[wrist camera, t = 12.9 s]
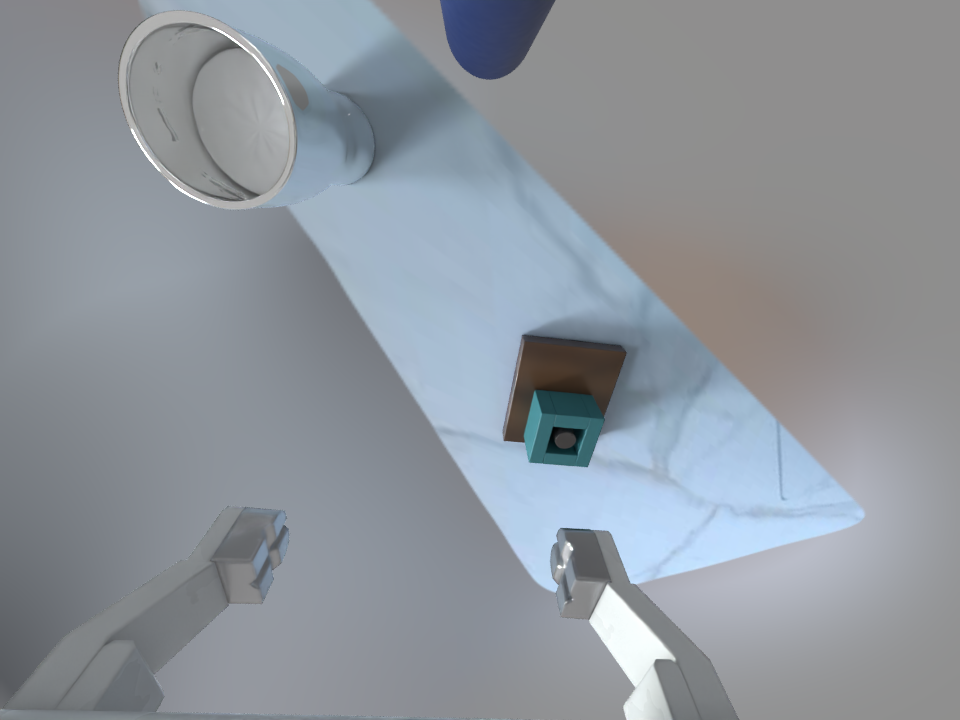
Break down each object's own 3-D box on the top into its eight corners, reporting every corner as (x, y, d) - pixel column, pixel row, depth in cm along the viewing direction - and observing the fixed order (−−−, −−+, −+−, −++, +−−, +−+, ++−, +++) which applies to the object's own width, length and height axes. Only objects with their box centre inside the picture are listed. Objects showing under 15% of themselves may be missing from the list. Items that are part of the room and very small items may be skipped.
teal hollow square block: (534, 389, 37) (541, 413, 33) (592, 394, 37) (605, 419, 34) (523, 436, 40) (528, 462, 36) (577, 440, 40) (587, 467, 37)
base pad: (522, 334, 36) (530, 361, 31) (621, 345, 36) (644, 373, 32) (502, 432, 41) (506, 468, 36) (588, 439, 42) (604, 475, 37)
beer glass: (375, 201, 30) (300, 232, 16) (285, 178, 29) (129, 191, 16) (386, 99, 27) (304, 37, 13) (286, 69, 26) (89, -30, 12)
